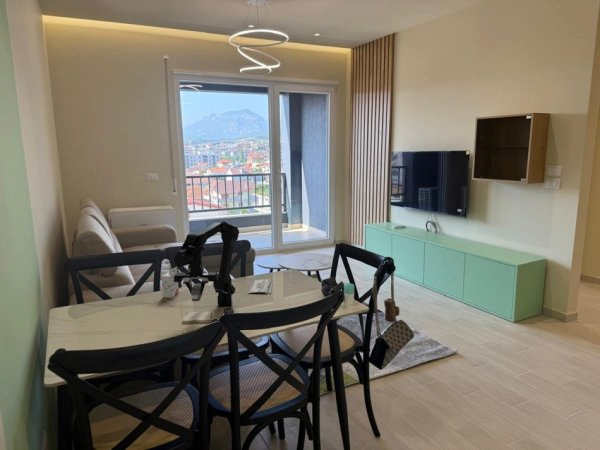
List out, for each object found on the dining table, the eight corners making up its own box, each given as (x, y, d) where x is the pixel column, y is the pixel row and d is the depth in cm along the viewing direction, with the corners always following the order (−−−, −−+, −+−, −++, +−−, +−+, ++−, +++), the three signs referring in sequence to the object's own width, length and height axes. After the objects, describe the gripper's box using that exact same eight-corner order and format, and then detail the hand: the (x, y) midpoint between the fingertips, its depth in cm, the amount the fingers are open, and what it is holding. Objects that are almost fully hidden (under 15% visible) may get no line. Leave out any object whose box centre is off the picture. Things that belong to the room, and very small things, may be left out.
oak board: (212, 314, 195) (212, 311, 194) (209, 322, 185) (209, 320, 185) (186, 314, 194) (186, 312, 193) (182, 323, 184) (182, 320, 184)
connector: (202, 294, 192) (202, 283, 191) (198, 302, 181) (198, 291, 180) (194, 294, 192) (194, 283, 191) (190, 303, 181) (189, 292, 180)
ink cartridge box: (170, 292, 225) (169, 265, 222) (178, 292, 224) (177, 266, 221) (162, 297, 216) (160, 270, 214) (171, 298, 215) (169, 270, 213)
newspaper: (270, 295, 223) (270, 290, 223) (248, 297, 224) (247, 292, 223) (274, 282, 245) (274, 278, 245) (254, 283, 246) (253, 279, 245)
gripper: (218, 257, 193) (219, 289, 196) (177, 257, 192) (179, 290, 194) (216, 263, 183) (217, 297, 185) (172, 263, 181) (174, 298, 183)
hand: (196, 295), depth 187 cm, fingers closed on connector, 4 cm apart
